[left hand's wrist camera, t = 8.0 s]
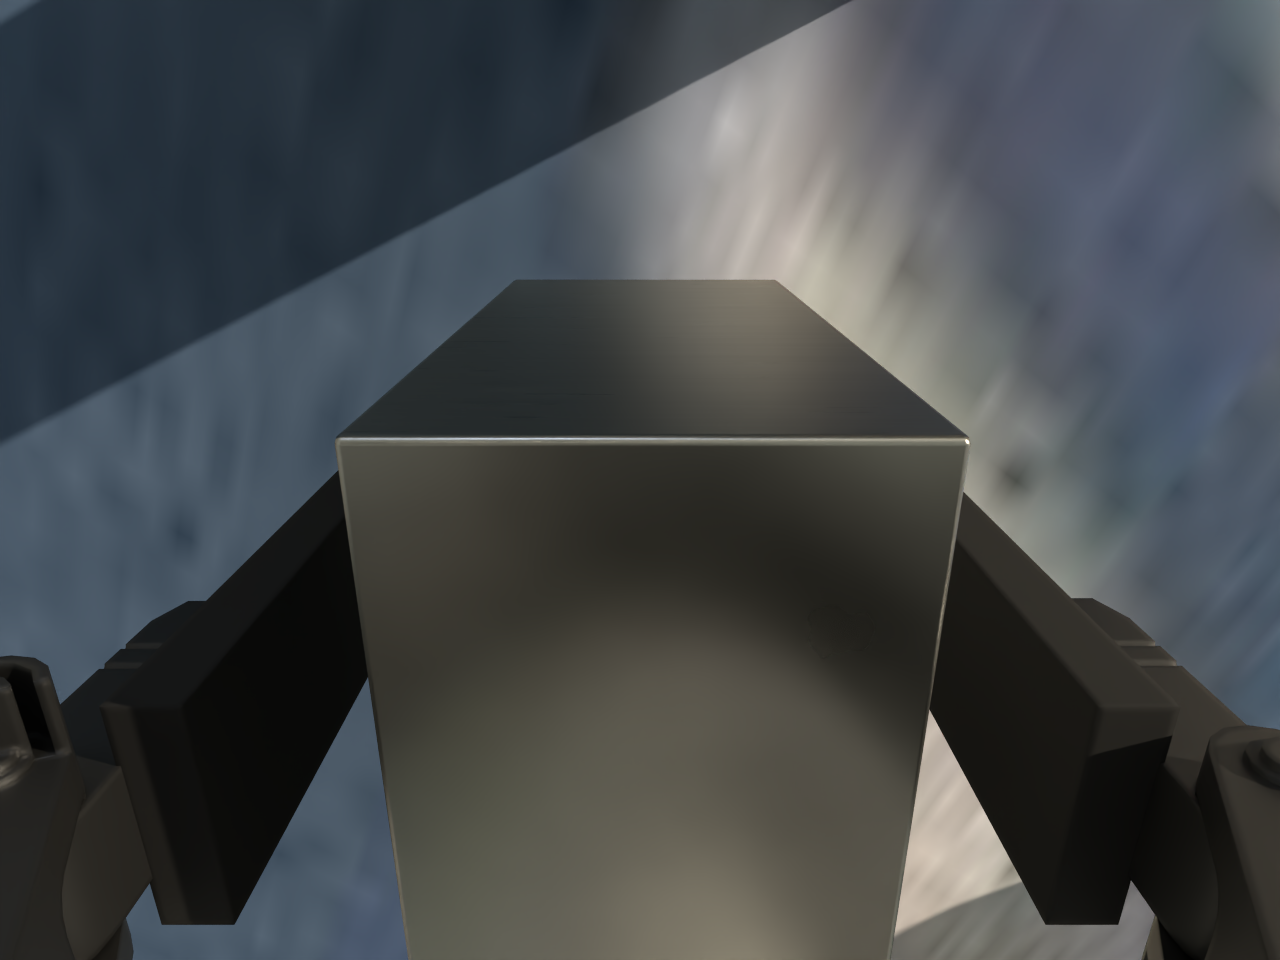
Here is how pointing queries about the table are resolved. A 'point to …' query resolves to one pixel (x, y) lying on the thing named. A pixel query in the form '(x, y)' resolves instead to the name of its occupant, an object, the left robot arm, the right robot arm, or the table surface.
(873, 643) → the bar
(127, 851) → the left robot arm
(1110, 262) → the table surface
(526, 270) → the table surface
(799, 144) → the table surface
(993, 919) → the table surface
